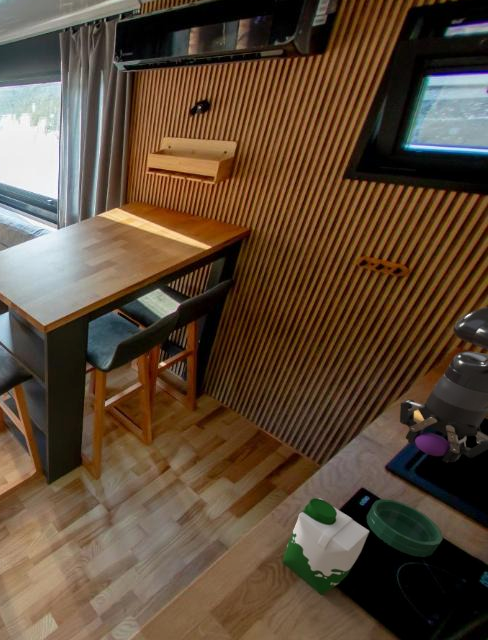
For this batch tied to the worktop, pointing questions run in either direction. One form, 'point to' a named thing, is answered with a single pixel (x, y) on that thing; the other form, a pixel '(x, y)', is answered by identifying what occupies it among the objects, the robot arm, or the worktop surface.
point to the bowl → (404, 528)
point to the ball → (432, 444)
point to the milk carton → (324, 545)
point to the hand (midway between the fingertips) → (428, 450)
